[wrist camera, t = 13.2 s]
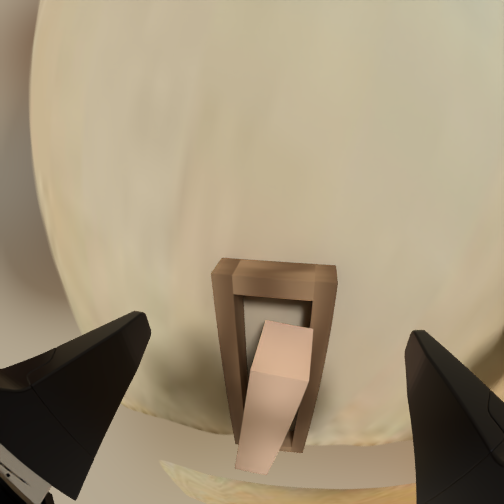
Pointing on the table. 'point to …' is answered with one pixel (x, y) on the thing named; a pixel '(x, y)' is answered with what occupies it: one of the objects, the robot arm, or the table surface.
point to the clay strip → (273, 393)
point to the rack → (233, 327)
